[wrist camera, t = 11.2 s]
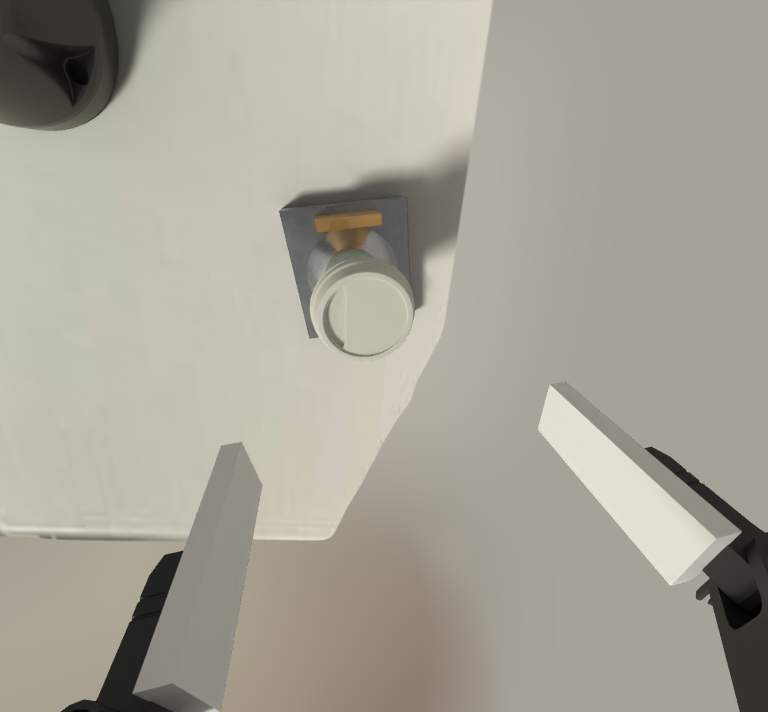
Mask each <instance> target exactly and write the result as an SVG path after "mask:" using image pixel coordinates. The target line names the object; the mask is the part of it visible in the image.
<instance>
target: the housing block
mask: <svg viewBox="0 0 768 712" xmlns="http://www.w3.org/2000/svg"><path fill="white" fill-rule="evenodd" d="M279 212H280V217H281V221H282V225H283V229H284V233H285V238H286V242H287V246H288V250H289V254H290V259H291V263H292V267H293V271H294V275H295V280H296V284H297V288H298V292H299V296H300V301H301V305H302V309H303V313H304V317H305V322H306V326H307V330H308V334H309V338H310V339H311V338H317V337H319V336H318V334H317V333H316V331H315V328H314V326H313V323H312V320H311V316H310V300H311V296H312V293H313V290H314V288H315V286H316V284H317V282H318V281H319V279H320V278H321V277H322V276H323V274H324V272H325V269H326V267H327V265H328V262H329V260H330V259H331V258H332V256H333V255H334V254H336V253H337V252H338V251H340V250H342V249H346V248H359V249H362V250H364V251H366V252H368V253H369V254H371V255H372V256H374V257H375V258H377V259H380V260H383V261H385V262H388V263H390V264H391V265H393V266H394V267H396V268H397V269H398V270H399V271H400V272H401V273H402V274H403V275H404V276H405V277H406V279H407V280H408V282H409V284H410V276H409V245H408V215H407V198H406V197H403V196H396V197H387V198H377V199H367V200H358V201H348V202H338V203H329V204H319V205H310V206H300V207H290V208H282V209H281V210H280V211H279Z"/></svg>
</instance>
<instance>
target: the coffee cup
mask: <svg viewBox="0 0 768 712" xmlns="http://www.w3.org/2000/svg"><path fill="white" fill-rule="evenodd" d="M414 314H415V301H414V296H413V292H412V289H411V286H410V284H409V282H408V280H407V279H406V277H405V276H404V275H403V274H402V273H401V272H400V271H399V270H398V269H397V268H396V267H394V266H393V265H391V264H390V263H388V262H385V261H383V260H380V259H377V258H375V257H374V256H372V255H371V254H369V253H368V252H366V251H364V250H362V249H359V248H346V249H342V250H340V251H338V252H337V253H336V254H334V255H333V256H332V258H331V259H330V260H329V262H328V265H327V267H326V269H325V272H324V274H323V276H322V277H321V278H320V279H319V281H318V282H317V284H316V286H315V288H314V290H313V293H312V296H311V300H310V316H311V320H312V323H313V326H314V328H315V331H316V333H317V334H318V336H319V338H320V339H321V340H322V341H323V342H324V343H325V344H326V345H327V346H328V347H329V348H330V349H331V350H332V351H334V352H335V353H336V354H338V355H340V356H342V357H344V358H347V359H350V360H356V361H371V360H376V359H379V358H382V357H384V356H387V355H388V354H390V353H392V352H393V351H395V350H396V349H397V348H398V347H399V346H400V345H401V344H402V343H403V342H404V341H405V339H406V338H407V336H408V334H409V332H410V330H411V327H412V323H413V319H414Z"/></svg>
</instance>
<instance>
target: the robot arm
mask: <svg viewBox="0 0 768 712" xmlns="http://www.w3.org/2000/svg"><path fill="white" fill-rule="evenodd" d="M117 68H118V48H117V39H116V33H115V27H114V23H113V19H112V15H111V12H110V8H109V5H108V2H107V0H0V123H2V124H6V125H11V126H16V127H22V128H29V129H36V130H46V131H58V130H66V129H71V128H74V127H77V126H80V125H82V124H84V123H86V122H88V121H90V120H91V119H92V118H94V117H95V116H96V115H97V114H98V113H99V112H100V111H101V110H102V109H103V108H104V106H105V105H106V103H107V102H108V100H109V98H110V96H111V94H112V91H113V88H114V85H115V81H116V76H117ZM538 430H539V431H540V432H541V434H542V435H543V436H544V437H545V438H546V439H547V441H548V442H549V443H550V444H551V445H552V446H553V448H554V449H555V450H556V451H557V452H558V453H559V455H560V456H561V457H562V458H563V459H564V461H565V462H566V463H567V464H568V465H569V467H570V468H571V469H572V470H573V471H574V473H576V475H577V476H578V477H579V478H580V480H581V481H582V482H583V483H584V484H585V486H586V487H587V488H588V489H589V490H590V491H591V492H592V494H593V495H594V496H595V497H596V499H597V500H598V501H599V502H600V503H601V504H602V506H603V507H604V508H605V509H606V510H607V511H608V513H609V514H610V515H611V516H612V517H613V518H614V520H615V521H616V522H617V523H618V524H619V525H620V527H621V528H622V529H623V530H624V531H625V533H626V534H627V535H628V536H629V537H630V539H631V540H632V541H633V542H634V543H635V544H636V545H637V547H638V548H639V549H640V550H641V552H642V553H643V554H644V555H645V556H646V558H647V559H648V560H649V561H650V562H651V563H652V565H653V566H654V567H655V568H656V569H657V570H658V572H659V573H660V574H661V575H662V576H663V578H664V579H665V580H666V581H667V582H668V584H670V586H672V585H676V584H679V583H683V582H686V581H690V580H693V578H695V577H696V576H697V575H698V574H699V573H700V572H701V571H702V570H703V571H704V572H705V573H706V575H707V576H709V578H710V579H709V580H708V581H707V582H705V583H704V584H703V585H702V586H701V587H700V588H699V589H698V590H697V591H696V599H698V600H702V599H703V598H704V597H706V596H707V595H708V594H709V593H710V597H711V598H710V600H709V601H708V604H710V605H712V606H713V609H714V613H715V617H716V620H717V624H718V628H719V632H720V636H721V640H722V644H723V648H724V651H725V656H726V660H727V663H728V667H729V671H730V675H731V679H732V683H733V687H734V691H735V695H736V698H737V702H738V706H739V710H740V712H768V532H767V533H765V532H763V531H762V530H760V529H759V528H758V527H756V526H755V525H754V524H752V523H751V522H749V521H748V520H747V519H746V518H745V517H744V516H742V515H741V514H740V513H739V512H737V511H736V510H735V509H734V508H732V507H731V506H730V505H729V504H728V503H726V502H725V501H724V500H723V499H721V498H720V497H719V496H718V495H716V494H715V493H714V492H713V491H711V490H710V489H709V488H708V487H706V486H705V485H704V484H703V483H702V484H701V483H700V482H699V480H698V479H697V478H696V477H694V476H693V475H692V474H691V473H688V472H686V469H684V468H683V467H682V466H681V465H680V464H678V463H677V462H676V461H675V460H673V459H672V458H671V457H670V456H668V455H666V454H664V453H662V452H660V451H658V450H657V449H655V448H653V447H648V448H643V447H642V446H641V445H640V444H638V443H637V442H636V441H635V440H634V439H633V438H631V437H630V436H629V435H628V434H626V432H624V431H623V430H622V429H621V428H620V427H618V426H617V425H616V424H615V423H614V422H613V421H611V420H610V419H609V418H608V417H607V416H606V415H604V414H603V413H602V412H601V411H600V410H599V409H597V408H596V407H595V406H594V405H593V404H592V403H590V402H589V401H588V400H587V399H586V398H585V397H583V396H582V395H581V394H580V393H579V392H577V391H576V390H575V389H574V388H572V386H570V385H569V384H568V383H567V382H561V383H556V384H551V385H550V387H549V390H548V394H547V397H546V401H545V405H544V409H543V412H542V416H541V420H540V423H539V427H538ZM261 490H262V484H261V482H260V480H259V477H258V475H257V473H256V471H255V469H254V467H253V465H252V463H251V461H250V459H249V456H248V454H247V452H246V450H245V448H244V446H243V444H242V442H239V443H234V444H229V445H223V446H221V448H220V451H219V454H218V456H217V459H216V462H215V465H214V468H213V470H212V473H211V476H210V479H209V482H208V484H207V487H206V490H205V493H204V495H203V498H202V501H201V504H200V507H199V509H198V512H197V515H196V518H195V521H194V523H193V526H192V529H191V532H190V535H189V537H188V540H187V543H186V546H185V549H184V551H180V552H176V553H171V554H166V555H164V556H163V558H162V559H161V560H160V562H159V563H158V565H157V566H156V567H155V569H154V570H153V571H152V573H151V574H150V575H149V578H148V580H147V583H146V585H145V587H144V589H143V592H142V594H141V597H140V602H138V604H137V606H136V609H135V611H134V613H133V616H132V621H131V622H130V623H129V625H128V628H127V630H126V632H125V635H124V637H123V639H122V642H121V644H120V646H119V649H118V651H117V653H116V656H115V658H114V661H113V663H112V665H111V668H110V670H109V672H108V675H107V677H106V680H105V682H104V684H103V687H102V689H101V691H100V694H99V696H98V698H97V700H96V701H91V700H82V701H79V702H77V703H74V704H71V705H69V706H68V707H66V708H65V709H64V710H62V711H61V712H221V708H222V702H223V697H224V692H225V686H226V681H227V675H228V670H229V665H230V659H231V654H232V648H233V643H234V637H235V631H236V626H237V620H238V615H239V610H240V604H241V599H242V593H243V588H244V583H245V577H246V572H247V566H248V561H249V555H250V550H251V544H252V539H253V533H254V528H255V522H256V517H257V511H258V506H259V501H260V495H261Z"/></svg>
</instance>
